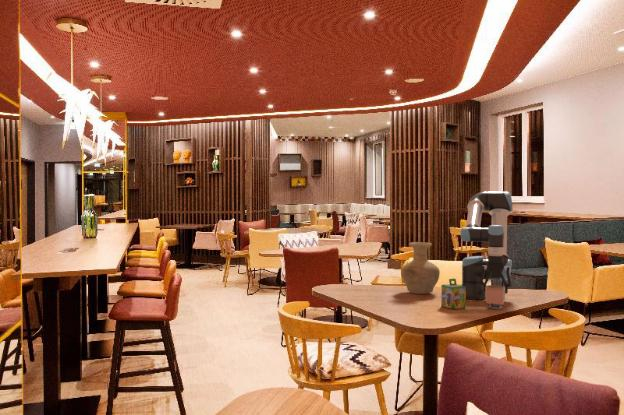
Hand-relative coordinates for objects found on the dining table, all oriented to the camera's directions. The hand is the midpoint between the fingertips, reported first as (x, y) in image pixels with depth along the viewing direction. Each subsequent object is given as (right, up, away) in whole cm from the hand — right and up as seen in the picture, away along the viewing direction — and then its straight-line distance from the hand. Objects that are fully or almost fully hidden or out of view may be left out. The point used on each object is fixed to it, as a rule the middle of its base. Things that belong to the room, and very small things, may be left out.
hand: (495, 298), depth 274 cm
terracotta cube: (0, -2, 0) cm, 2 cm away
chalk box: (-21, -5, +2) cm, 22 cm away
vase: (-30, -4, +42) cm, 52 cm away
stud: (0, -5, 0) cm, 5 cm away
